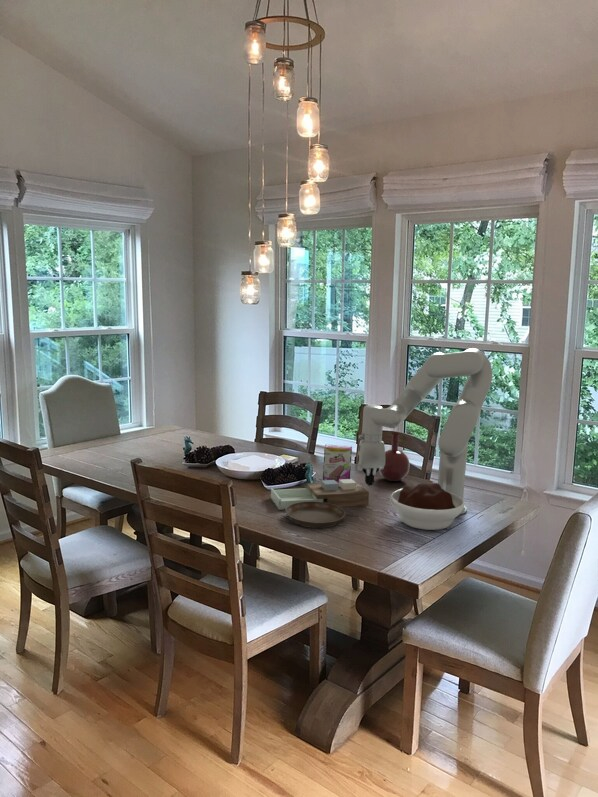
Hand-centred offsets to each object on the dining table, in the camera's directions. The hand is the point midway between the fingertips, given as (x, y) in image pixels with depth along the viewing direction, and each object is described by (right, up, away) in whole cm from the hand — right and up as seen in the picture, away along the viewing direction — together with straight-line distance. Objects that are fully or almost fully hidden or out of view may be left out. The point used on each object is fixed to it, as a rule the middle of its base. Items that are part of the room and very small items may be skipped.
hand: (369, 484), depth 259 cm
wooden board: (-13, -6, -3) cm, 14 cm away
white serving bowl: (+17, -11, -25) cm, 32 cm away
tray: (-28, -6, -7) cm, 29 cm away
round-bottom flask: (+13, -2, +26) cm, 29 cm away
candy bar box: (-12, -3, +16) cm, 20 cm away
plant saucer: (-21, -10, -23) cm, 33 cm away
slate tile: (-15, -1, -4) cm, 16 cm away
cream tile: (-9, -1, -2) cm, 9 cm away
